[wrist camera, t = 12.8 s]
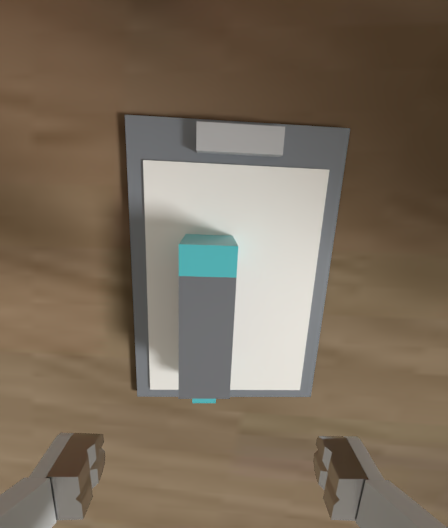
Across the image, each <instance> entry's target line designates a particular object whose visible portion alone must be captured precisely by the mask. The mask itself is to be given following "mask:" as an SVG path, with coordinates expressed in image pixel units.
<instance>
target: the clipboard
mask: <svg viewBox="0 0 448 528" xmlns="http://www.w3.org/2000/svg"><path fill="white" fill-rule="evenodd" d="M125 133H126V155H127V177H128V199H129V221H130V243H131V265H132V287H133V309H134V331H135V354H136V376H137V396H154V397H179V243H180V241H181V240H182V239H183V237H184V236H185V234H201V235H228V236H233V237H234V239H235V241H236V243H237V245H238V261H237V278H236V295H235V313H234V330H233V348H232V365H231V382H230V397H311V391H312V384H313V378H314V371H315V364H316V357H317V350H318V344H319V337H320V330H321V323H322V317H323V310H324V303H325V296H326V289H327V283H328V276H329V269H330V262H331V256H332V249H333V242H334V235H335V228H336V222H337V215H338V208H339V201H340V194H341V188H342V181H343V174H344V167H345V161H346V154H347V147H348V140H349V133H350V128H336V127H320V126H303V125H287V124H271V123H254V122H238V121H221V120H205V119H189V118H172V117H156V116H139V115H125Z"/></svg>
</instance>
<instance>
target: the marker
mask: <svg viewBox="0 0 448 528" xmlns="http://www.w3.org/2000/svg"><path fill="white" fill-rule="evenodd" d="M237 261H238V245H237V243H236V241H235V239H234V237H233V236H228V235H201V234H185V236H184V237H183V239H182V240H181V241H180V243H179V399H192V403H216V399H230V382H231V365H232V348H233V330H234V313H235V295H236V278H237Z"/></svg>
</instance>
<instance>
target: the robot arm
mask: <svg viewBox="0 0 448 528" xmlns="http://www.w3.org/2000/svg"><path fill="white" fill-rule="evenodd" d="M103 443H104V438H103V434H89V433H60V434H59V435H58V436H56V438H55V439H54V441H53V442H52V444H51V445H50V447H49V448H48V450H47V451H46V453H45V454H44V455H43V457H42V458H41V460H40V461H39V463H38V464H37V466H36V467H35V469H34V470H33V472H32V473H31V475H30V476H29V478H23V479H22V480H20V481H19V482H18V483H16V484H15V485H13V486H12V487H11V488H9V489H8V490H7V491H5V492H4V493H2V494H1V495H0V528H52V526H53V525H54V524H55V523H56V522H57V521H56V520H77V519H84V516H85V514H86V512H87V509H88V507H89V505H90V502H91V500H92V497H93V494H92V488H93V487H95V486H96V485H97V484H98V483H99V480H100V478H101V475H102V472H103V468H104V464H105V451H104V450H103V449H102V448H101V447H102V445H103ZM316 446H317V449H318V450H317V451H316V452H315V453H314V460H313V462H314V471H315V475H316V479H317V482H318V484H319V485H320V486H321V487H322V488H323V489H324V496H323V499H324V501H325V504H326V507H327V510H328V513H329V515H330V518H331V520H352V521H356V523H357V524H358V526H359V527H360V528H447V527H446V526H445V525H443V524H442V523H441V522H440V521H438V520H437V519H436V518H435V517H433V516H432V515H431V514H430V513H429V512H427V511H426V510H425V509H424V508H422V507H421V506H420V505H419V504H417V503H416V502H415V501H414V500H413V499H411V498H410V497H409V496H408V495H406V494H405V493H404V492H403V491H401V490H400V489H399V488H398V487H396V486H395V485H394V484H393V483H392V482H390V481H389V480H384V478H383V476H382V475H381V473H380V471H379V470H378V468H377V466H376V465H375V463H374V461H373V460H372V458H371V456H370V455H369V453H368V451H367V450H366V448H365V446H364V445H363V443H362V441H361V440H360V439H359V438H358V437H343V436H318V438H317V441H316Z"/></svg>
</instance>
